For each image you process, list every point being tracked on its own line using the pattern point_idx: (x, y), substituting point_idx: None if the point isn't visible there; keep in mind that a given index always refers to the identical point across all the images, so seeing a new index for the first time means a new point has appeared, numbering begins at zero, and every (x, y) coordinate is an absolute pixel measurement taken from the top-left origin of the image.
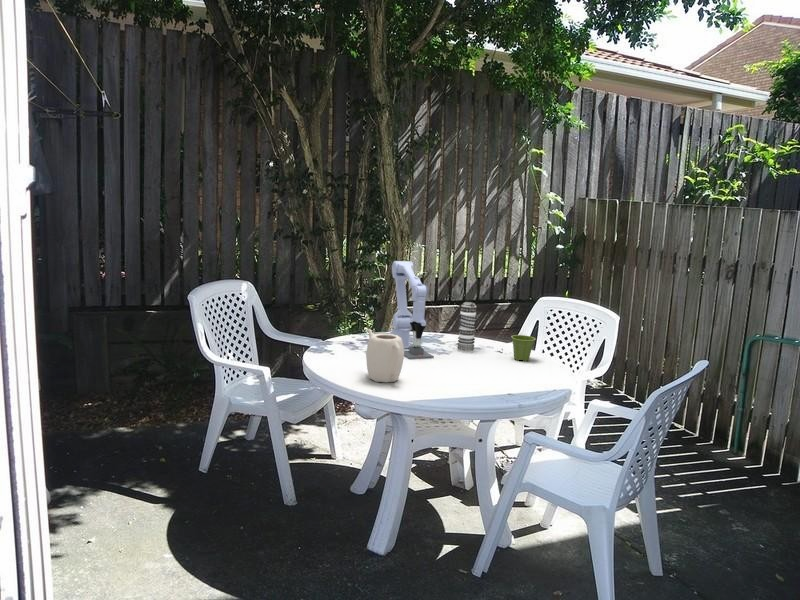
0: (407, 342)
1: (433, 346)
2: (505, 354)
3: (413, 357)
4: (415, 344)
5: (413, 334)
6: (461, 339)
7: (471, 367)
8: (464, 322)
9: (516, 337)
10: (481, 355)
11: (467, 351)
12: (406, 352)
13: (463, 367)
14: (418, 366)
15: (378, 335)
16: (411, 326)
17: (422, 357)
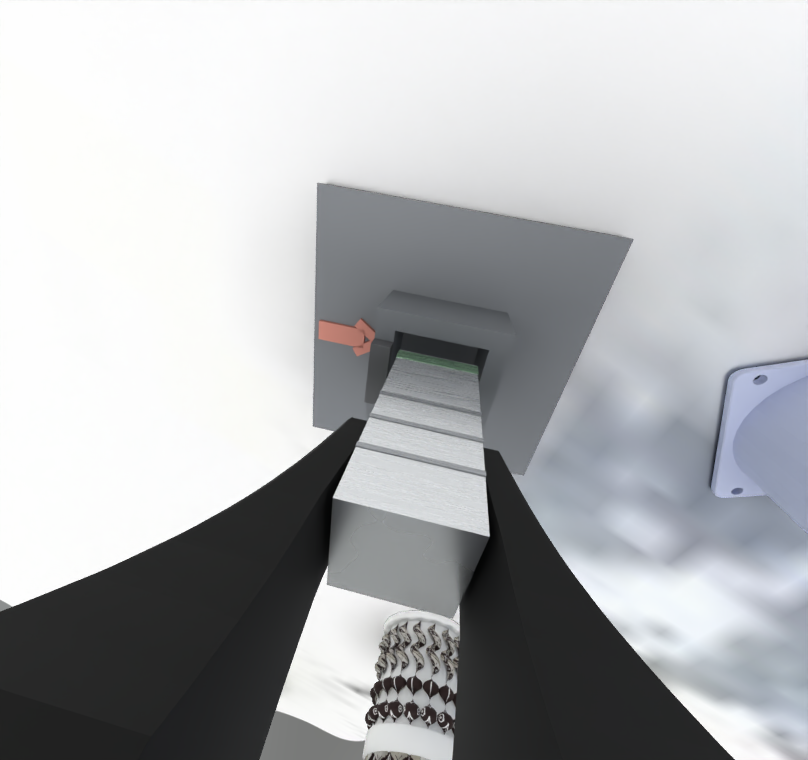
0: (771, 478)
1: (617, 601)
2: (323, 680)
3: (319, 241)
4: (393, 365)
5: (474, 465)
6: (403, 706)
7: (96, 465)
8: None
9: None
10: (327, 626)
11: (391, 629)
12: (518, 285)
13: (88, 431)
14: (50, 113)
15: None
16: (638, 671)
17: (318, 334)
